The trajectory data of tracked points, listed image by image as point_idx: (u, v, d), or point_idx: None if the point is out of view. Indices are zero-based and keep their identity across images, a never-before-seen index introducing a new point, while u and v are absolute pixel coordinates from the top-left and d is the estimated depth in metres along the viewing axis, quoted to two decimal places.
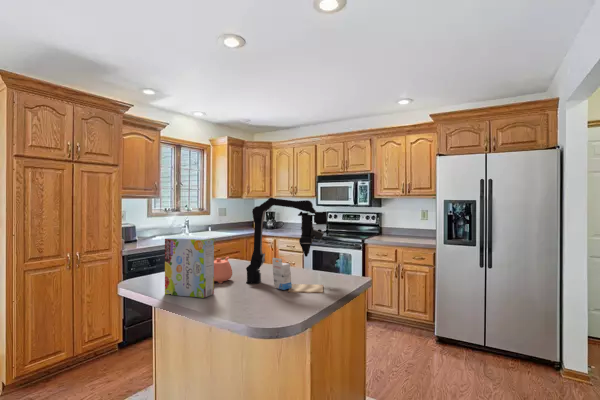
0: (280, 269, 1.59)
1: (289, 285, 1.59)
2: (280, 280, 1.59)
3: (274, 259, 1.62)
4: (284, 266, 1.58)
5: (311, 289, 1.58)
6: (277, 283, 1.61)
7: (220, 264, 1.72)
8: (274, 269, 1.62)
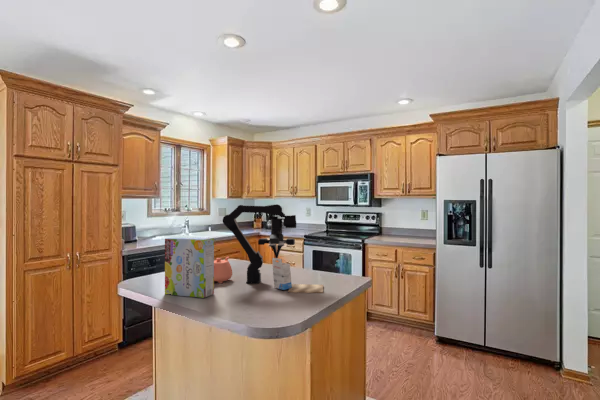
0: (280, 269, 1.59)
1: (289, 285, 1.59)
2: (280, 280, 1.59)
3: (274, 259, 1.62)
4: (284, 266, 1.58)
5: (311, 289, 1.58)
6: (277, 283, 1.61)
7: (220, 264, 1.72)
8: (274, 269, 1.62)
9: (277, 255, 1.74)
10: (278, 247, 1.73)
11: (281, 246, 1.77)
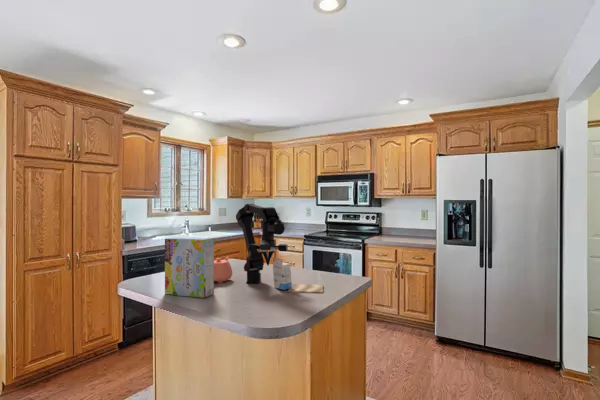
0: (280, 269, 1.59)
1: (289, 285, 1.59)
2: (280, 280, 1.59)
3: (274, 259, 1.62)
4: (284, 266, 1.58)
5: (311, 289, 1.58)
6: (277, 283, 1.61)
7: (220, 264, 1.72)
8: (274, 269, 1.62)
9: (268, 262, 1.62)
10: (269, 253, 1.60)
11: (273, 252, 1.65)
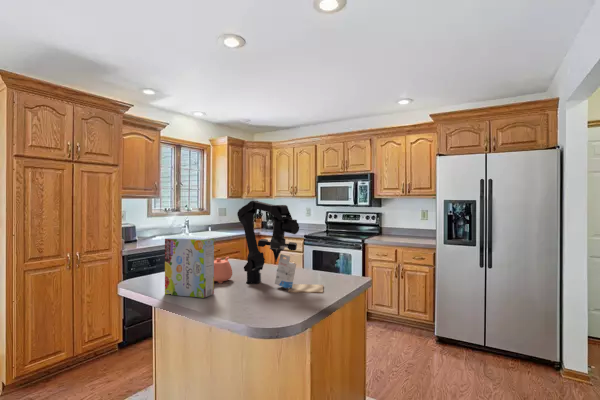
0: (285, 267, 1.60)
1: (290, 284, 1.59)
2: (283, 277, 1.59)
3: (282, 256, 1.64)
4: (290, 264, 1.59)
5: (311, 289, 1.58)
6: (278, 280, 1.61)
7: (220, 264, 1.72)
8: (279, 265, 1.63)
9: (276, 259, 1.64)
10: (278, 251, 1.62)
11: None
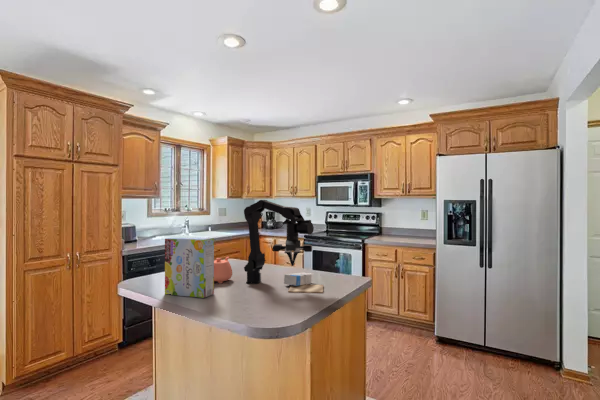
0: (305, 274, 1.70)
1: (298, 282, 1.62)
2: (298, 274, 1.66)
3: None
4: (310, 276, 1.70)
5: (311, 289, 1.58)
6: (291, 274, 1.67)
7: (220, 264, 1.72)
8: (298, 273, 1.73)
9: (293, 263, 1.61)
10: (294, 254, 1.59)
11: None
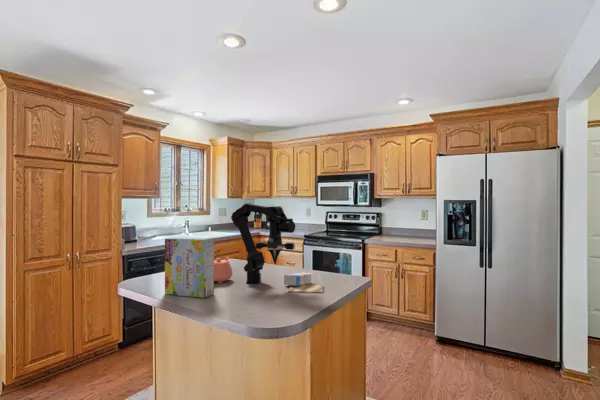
0: (305, 273, 1.70)
1: (298, 282, 1.62)
2: (298, 274, 1.66)
3: None
4: (310, 276, 1.70)
5: (311, 289, 1.58)
6: (291, 274, 1.67)
7: (220, 264, 1.72)
8: (298, 273, 1.73)
9: (275, 260, 1.65)
10: (276, 251, 1.64)
11: (280, 250, 1.68)
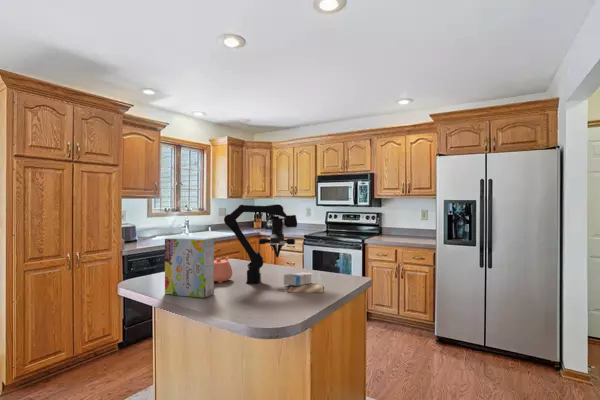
0: (305, 273, 1.70)
1: (298, 282, 1.62)
2: (298, 274, 1.66)
3: None
4: (310, 276, 1.70)
5: (311, 289, 1.58)
6: (291, 274, 1.67)
7: (220, 264, 1.72)
8: (298, 273, 1.73)
9: (278, 254, 1.76)
10: (279, 246, 1.75)
11: None
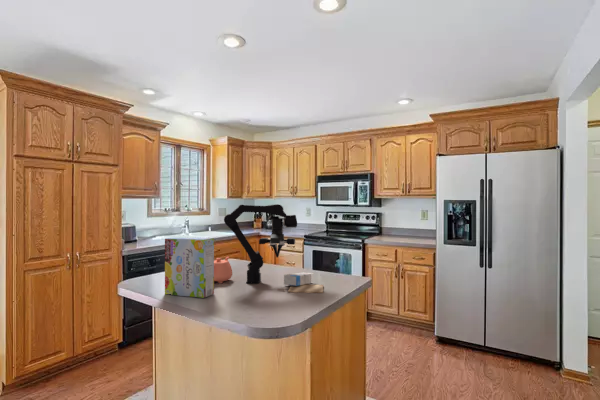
0: (305, 273, 1.70)
1: (298, 282, 1.62)
2: (298, 274, 1.66)
3: None
4: (310, 276, 1.70)
5: (311, 289, 1.58)
6: (291, 274, 1.67)
7: (220, 264, 1.72)
8: (298, 273, 1.73)
9: (278, 254, 1.76)
10: (279, 246, 1.75)
11: (282, 245, 1.79)
